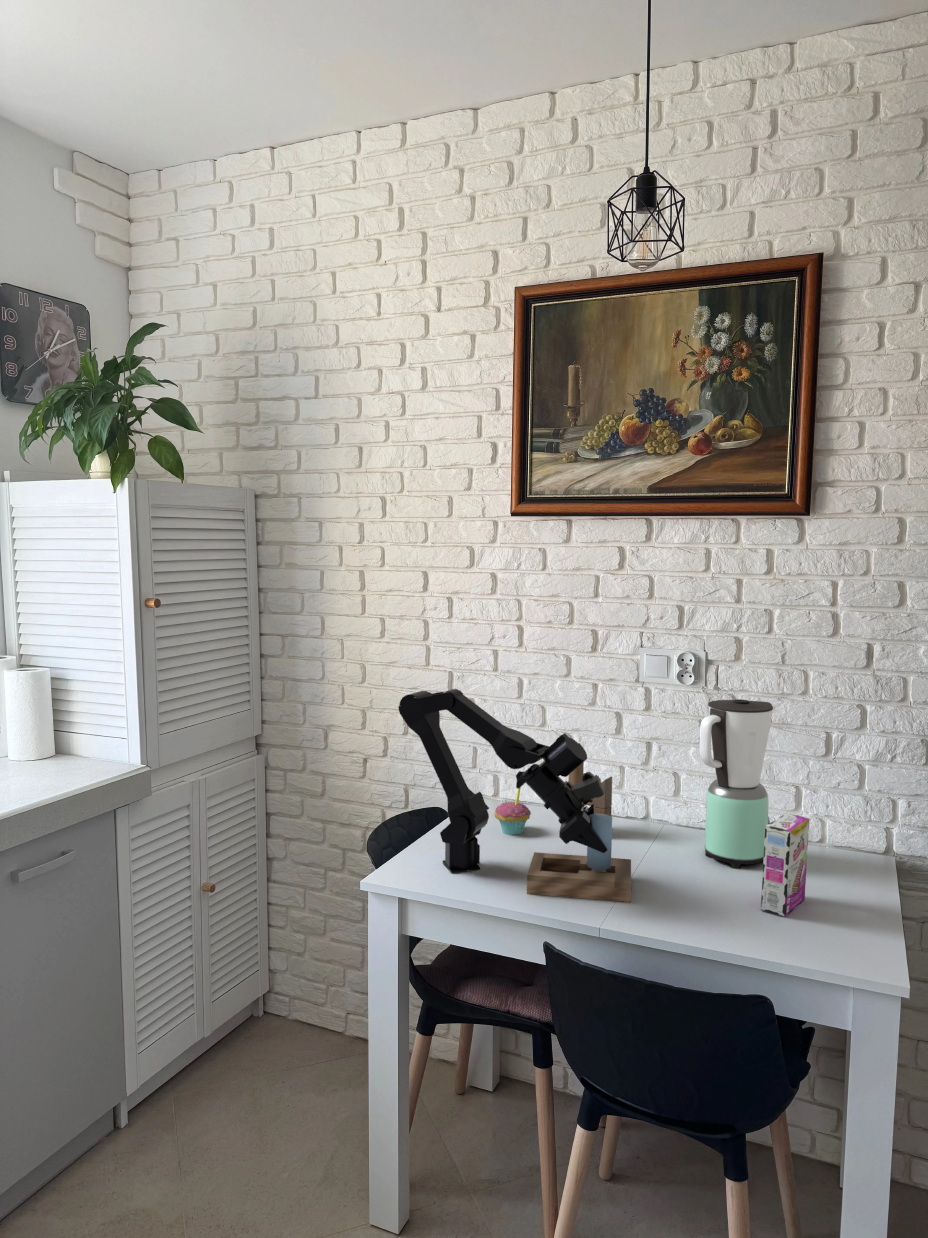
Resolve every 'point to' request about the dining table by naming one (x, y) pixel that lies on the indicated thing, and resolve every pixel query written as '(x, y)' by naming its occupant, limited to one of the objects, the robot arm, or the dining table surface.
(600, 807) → the wooden block
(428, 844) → the dining table surface
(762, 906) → the candy bar box
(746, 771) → the mint green blender
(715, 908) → the dining table surface
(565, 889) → the keyhole board
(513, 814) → the cupcake
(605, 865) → the keyhole stud
